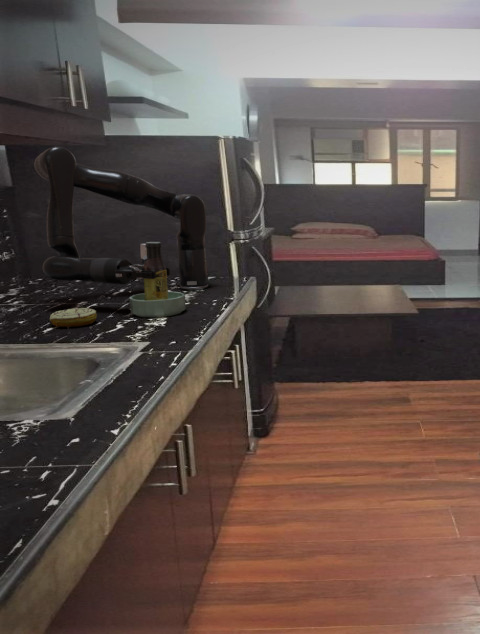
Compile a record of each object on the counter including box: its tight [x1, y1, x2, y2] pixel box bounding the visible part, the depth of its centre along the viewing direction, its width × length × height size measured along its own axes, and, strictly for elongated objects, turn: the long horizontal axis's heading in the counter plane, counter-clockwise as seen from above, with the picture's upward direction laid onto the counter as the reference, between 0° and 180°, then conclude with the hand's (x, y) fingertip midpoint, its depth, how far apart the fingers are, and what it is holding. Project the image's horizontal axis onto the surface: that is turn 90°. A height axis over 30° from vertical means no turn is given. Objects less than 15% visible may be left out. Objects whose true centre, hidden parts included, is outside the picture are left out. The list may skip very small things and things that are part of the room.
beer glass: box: [139, 242, 147, 265], centre depth 224 cm, size 7×7×15 cm
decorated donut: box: [49, 307, 98, 328], centre depth 161 cm, size 10×11×4 cm
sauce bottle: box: [143, 241, 169, 301], centre depth 174 cm, size 7×6×20 cm
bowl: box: [129, 291, 187, 318], centre depth 176 cm, size 15×15×5 cm
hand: (162, 273), depth 173 cm, fingers closed on sauce bottle, 6 cm apart
